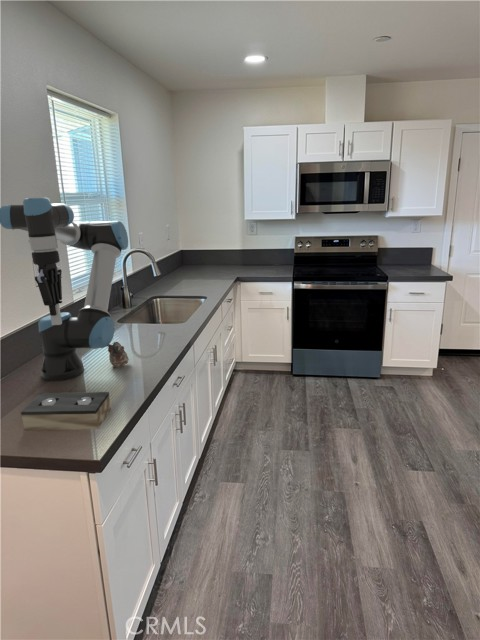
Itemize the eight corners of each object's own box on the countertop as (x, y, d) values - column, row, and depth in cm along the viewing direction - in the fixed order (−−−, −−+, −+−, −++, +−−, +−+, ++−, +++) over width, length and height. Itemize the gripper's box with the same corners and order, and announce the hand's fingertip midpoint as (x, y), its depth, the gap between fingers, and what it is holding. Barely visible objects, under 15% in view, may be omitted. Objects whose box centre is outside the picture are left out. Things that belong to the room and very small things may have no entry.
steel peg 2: (82, 413, 133) (80, 397, 132) (95, 412, 133) (93, 396, 131) (77, 419, 129) (75, 403, 128) (90, 419, 129) (88, 402, 128)
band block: (43, 410, 138) (40, 393, 136) (111, 409, 137) (108, 391, 135) (24, 430, 126) (20, 411, 125) (98, 429, 125) (95, 410, 124)
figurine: (127, 368, 171) (122, 352, 161) (109, 367, 170) (103, 352, 161) (129, 352, 175) (125, 336, 165) (111, 352, 174) (106, 336, 165)
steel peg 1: (48, 414, 134) (45, 398, 132) (60, 413, 133) (58, 397, 132) (42, 420, 130) (39, 404, 128) (55, 420, 130) (52, 404, 128)
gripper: (43, 247, 137) (55, 318, 144) (21, 253, 125) (35, 330, 132) (66, 247, 137) (76, 318, 144) (46, 253, 124) (59, 330, 131)
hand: (57, 324), depth 138 cm, fingers closed
